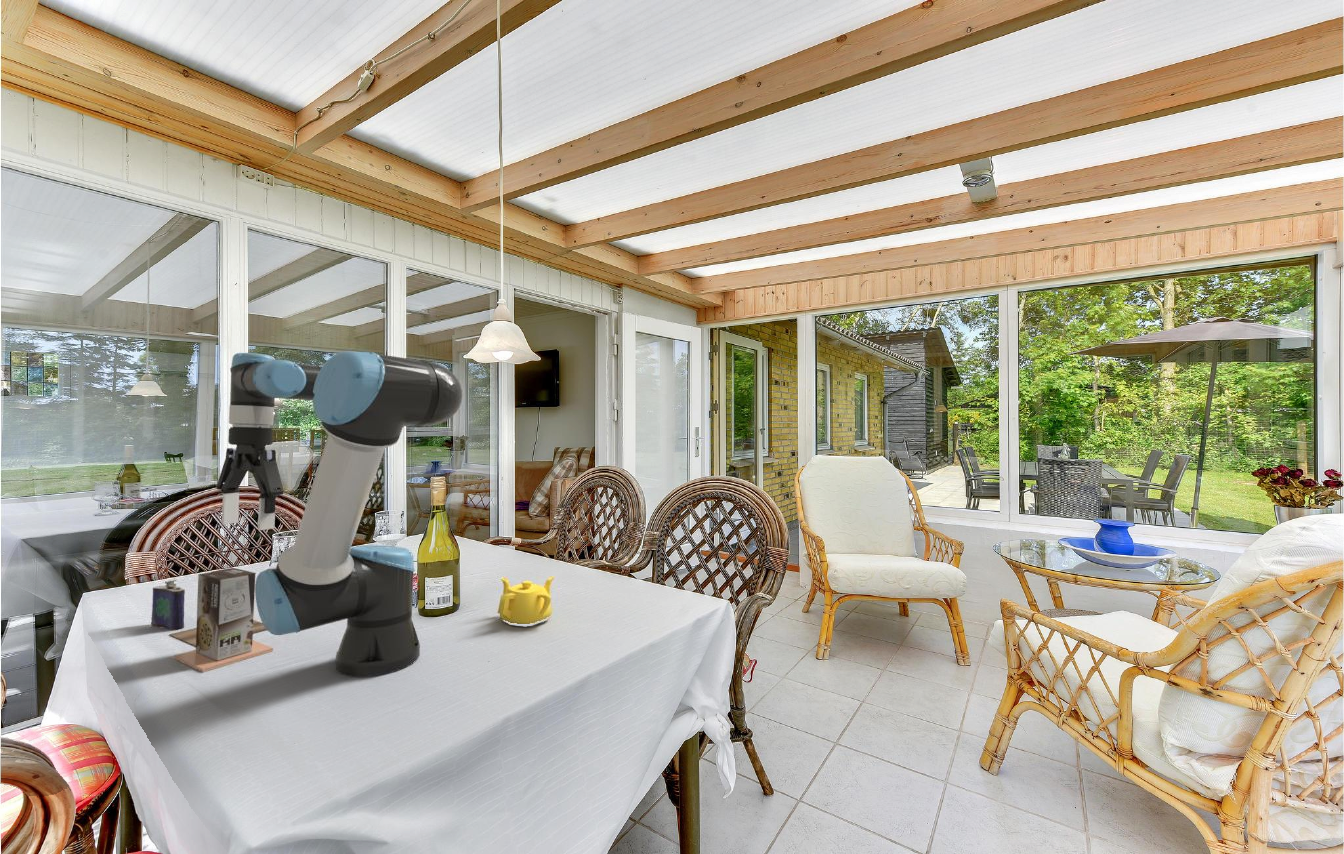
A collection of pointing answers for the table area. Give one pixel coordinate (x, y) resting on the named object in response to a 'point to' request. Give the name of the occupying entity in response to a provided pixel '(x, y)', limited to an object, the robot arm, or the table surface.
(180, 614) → the flask
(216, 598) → the printed cardboard box
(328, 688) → the table surface
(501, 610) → the teapot
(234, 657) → the pad
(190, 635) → the mat
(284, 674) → the table surface
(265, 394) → the robot arm
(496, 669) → the table surface
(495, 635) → the table surface
